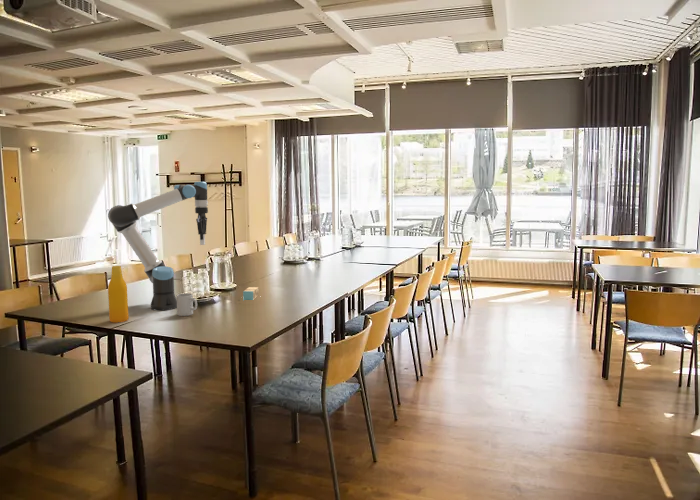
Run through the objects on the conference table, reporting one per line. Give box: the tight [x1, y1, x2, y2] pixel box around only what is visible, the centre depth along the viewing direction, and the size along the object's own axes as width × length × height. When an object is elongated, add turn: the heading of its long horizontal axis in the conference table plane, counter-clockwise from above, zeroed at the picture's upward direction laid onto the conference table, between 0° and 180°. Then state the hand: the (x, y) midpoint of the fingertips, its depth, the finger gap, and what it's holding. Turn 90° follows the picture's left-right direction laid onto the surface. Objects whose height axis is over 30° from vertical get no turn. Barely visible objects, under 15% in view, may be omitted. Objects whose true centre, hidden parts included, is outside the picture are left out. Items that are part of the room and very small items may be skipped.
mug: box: [176, 292, 198, 317], centre depth 287 cm, size 12×8×11 cm
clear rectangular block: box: [242, 286, 260, 301], centre depth 325 cm, size 6×6×14 cm
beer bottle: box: [107, 265, 130, 324], centre depth 272 cm, size 9×9×29 cm
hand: (202, 244), depth 323 cm, fingers closed
